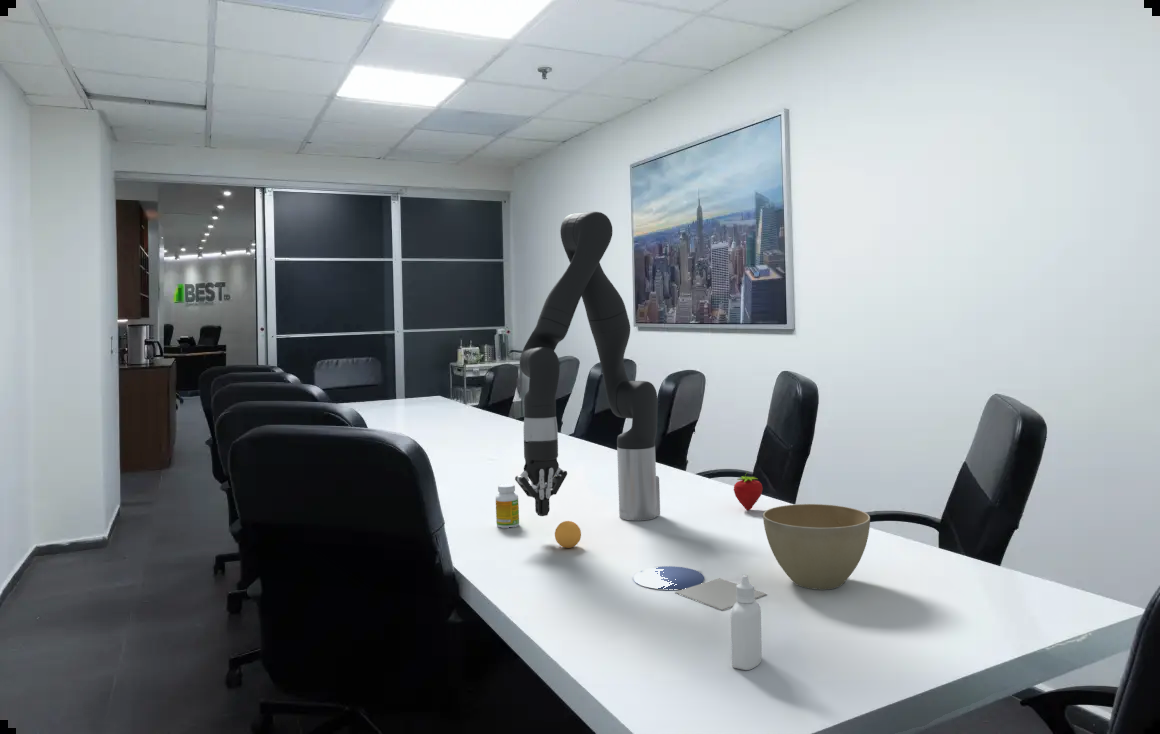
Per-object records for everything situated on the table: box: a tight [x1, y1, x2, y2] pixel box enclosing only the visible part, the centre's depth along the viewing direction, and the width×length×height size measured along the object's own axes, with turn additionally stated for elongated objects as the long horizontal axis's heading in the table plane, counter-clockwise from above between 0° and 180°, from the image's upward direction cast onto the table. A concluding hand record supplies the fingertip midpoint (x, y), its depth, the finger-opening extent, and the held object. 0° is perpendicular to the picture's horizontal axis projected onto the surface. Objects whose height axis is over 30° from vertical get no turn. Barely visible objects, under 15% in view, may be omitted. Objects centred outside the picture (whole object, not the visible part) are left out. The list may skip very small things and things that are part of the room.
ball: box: [554, 520, 582, 549], centre depth 163 cm, size 6×6×6 cm
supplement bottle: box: [495, 483, 520, 529], centre depth 183 cm, size 5×5×10 cm
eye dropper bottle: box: [730, 574, 763, 671], centre depth 104 cm, size 4×6×12 cm
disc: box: [655, 565, 705, 591], centre depth 141 cm, size 13×13×1 cm
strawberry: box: [733, 472, 764, 511], centre depth 190 cm, size 6×8×10 cm
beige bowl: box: [762, 503, 871, 590], centre depth 136 cm, size 18×18×12 cm
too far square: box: [675, 577, 768, 611], centre depth 131 cm, size 11×11×1 cm
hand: (542, 515), depth 170 cm, fingers closed
